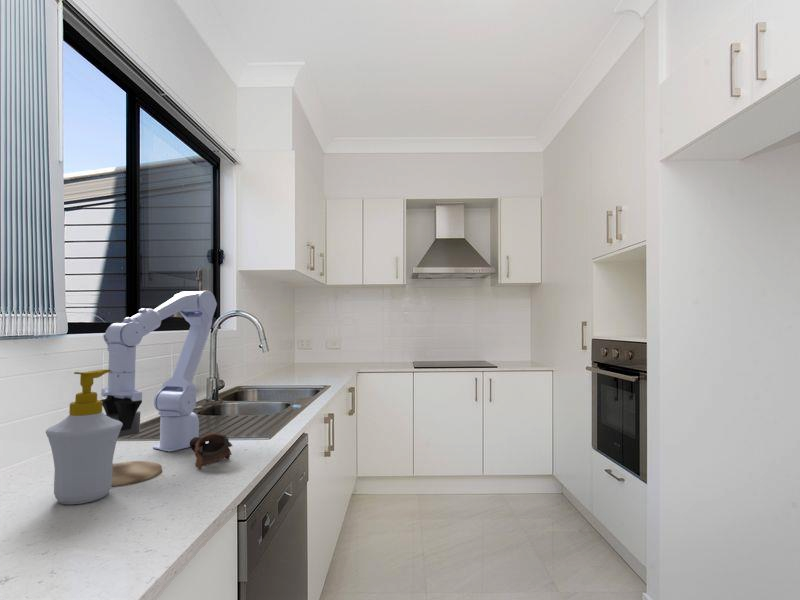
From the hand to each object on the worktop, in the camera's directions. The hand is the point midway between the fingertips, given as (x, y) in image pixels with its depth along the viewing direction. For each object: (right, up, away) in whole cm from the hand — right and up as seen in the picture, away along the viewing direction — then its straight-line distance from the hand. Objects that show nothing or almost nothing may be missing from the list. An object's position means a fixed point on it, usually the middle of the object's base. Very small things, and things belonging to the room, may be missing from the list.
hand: (120, 428), depth 118 cm
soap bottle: (+6, -8, -23) cm, 25 cm away
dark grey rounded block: (-1, -2, -1) cm, 2 cm away
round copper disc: (+6, -8, -9) cm, 13 cm away
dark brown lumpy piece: (+22, -9, 0) cm, 23 cm away
